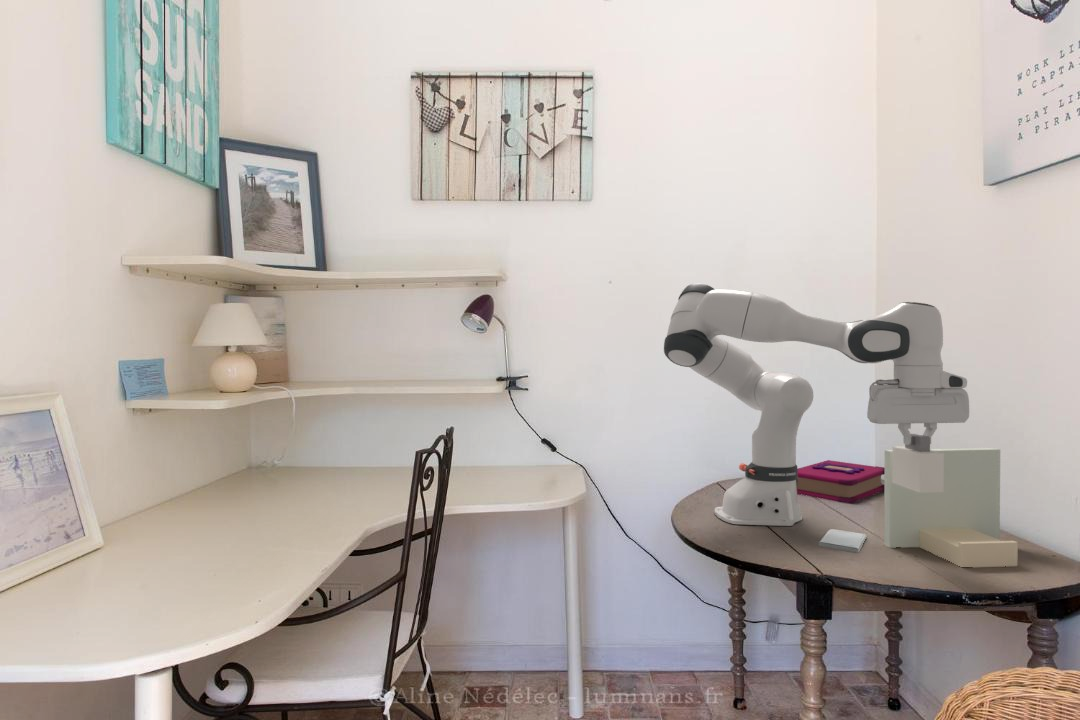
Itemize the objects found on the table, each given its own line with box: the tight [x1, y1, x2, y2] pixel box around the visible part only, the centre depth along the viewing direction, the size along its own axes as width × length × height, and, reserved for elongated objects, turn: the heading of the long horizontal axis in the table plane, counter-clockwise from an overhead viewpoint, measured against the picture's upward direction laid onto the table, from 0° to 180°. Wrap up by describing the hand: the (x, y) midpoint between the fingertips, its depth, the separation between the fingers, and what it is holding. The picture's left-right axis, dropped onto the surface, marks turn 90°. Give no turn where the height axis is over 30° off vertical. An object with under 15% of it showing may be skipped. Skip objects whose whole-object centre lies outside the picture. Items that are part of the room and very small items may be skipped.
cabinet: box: [892, 433, 944, 493], centre depth 129 cm, size 5×9×11 cm, turn 3°
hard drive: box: [818, 528, 867, 554], centre depth 143 cm, size 2×8×12 cm
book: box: [796, 459, 885, 504], centre depth 194 cm, size 21×28×8 cm
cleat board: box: [883, 447, 1019, 568], centre depth 134 cm, size 26×15×22 cm, turn 93°
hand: (917, 444), depth 129 cm, fingers closed on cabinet
